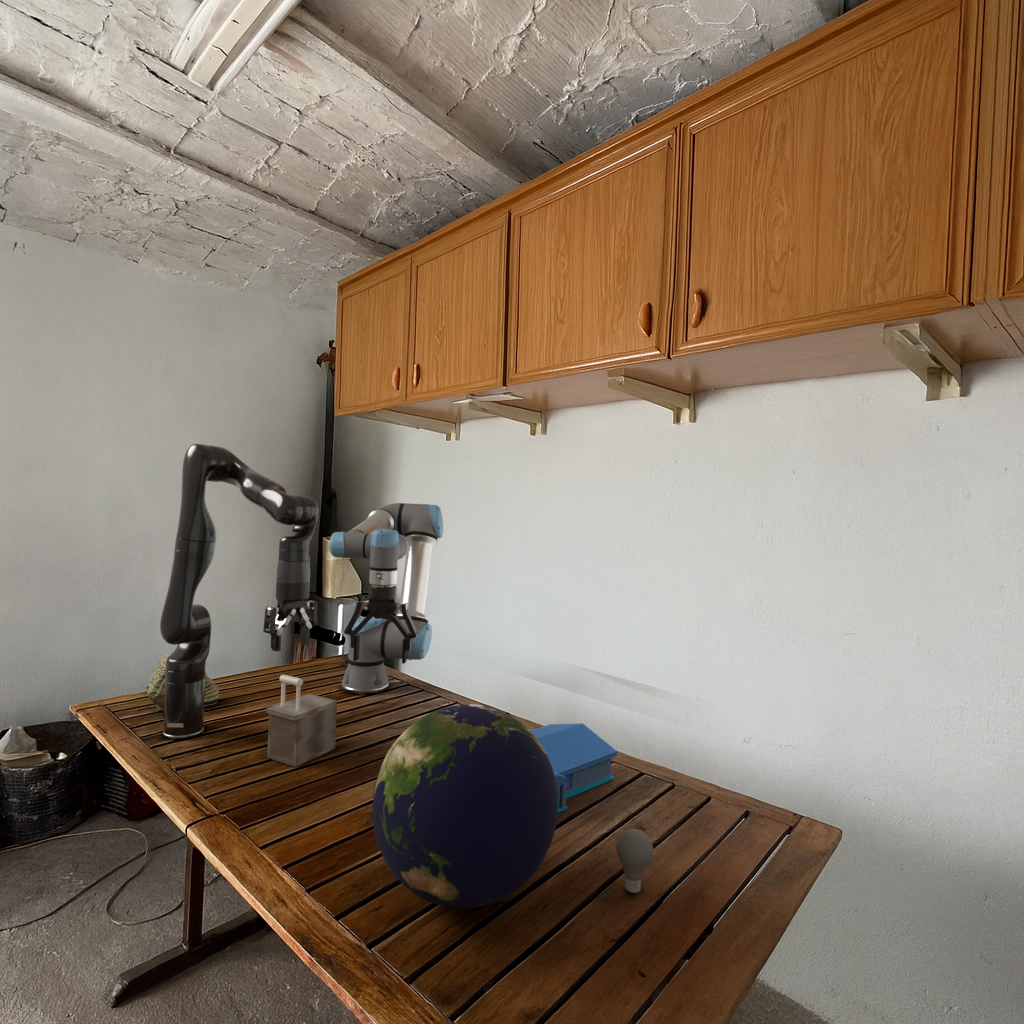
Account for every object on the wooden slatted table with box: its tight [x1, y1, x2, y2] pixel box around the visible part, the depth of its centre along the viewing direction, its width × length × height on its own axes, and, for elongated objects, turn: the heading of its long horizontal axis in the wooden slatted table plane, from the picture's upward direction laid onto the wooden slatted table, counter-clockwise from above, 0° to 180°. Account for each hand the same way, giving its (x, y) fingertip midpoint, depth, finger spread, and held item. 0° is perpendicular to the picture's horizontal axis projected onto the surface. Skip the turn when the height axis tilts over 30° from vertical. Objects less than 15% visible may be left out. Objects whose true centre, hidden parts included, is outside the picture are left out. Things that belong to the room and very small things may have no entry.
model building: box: [529, 722, 618, 814], centre depth 142 cm, size 39×24×10 cm, turn 132°
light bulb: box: [615, 828, 654, 894], centre depth 106 cm, size 6×6×10 cm
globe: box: [371, 703, 559, 910], centre depth 103 cm, size 30×30×30 cm
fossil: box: [147, 654, 221, 712], centre depth 185 cm, size 9×18×15 cm, turn 132°
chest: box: [266, 704, 338, 768], centre depth 155 cm, size 13×10×11 cm
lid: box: [265, 674, 338, 721], centre depth 155 cm, size 14×10×9 cm
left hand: (290, 647), depth 150 cm, fingers open, 8 cm apart
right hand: (380, 661), depth 176 cm, fingers open, 13 cm apart
